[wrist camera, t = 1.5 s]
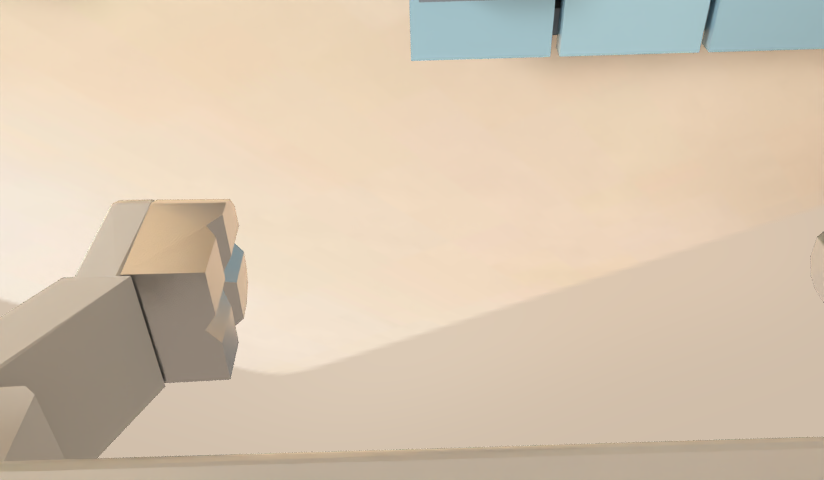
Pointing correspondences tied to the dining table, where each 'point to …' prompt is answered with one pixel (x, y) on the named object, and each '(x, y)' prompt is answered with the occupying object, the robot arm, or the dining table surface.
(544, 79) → the dining table surface
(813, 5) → the blue grooved panel
